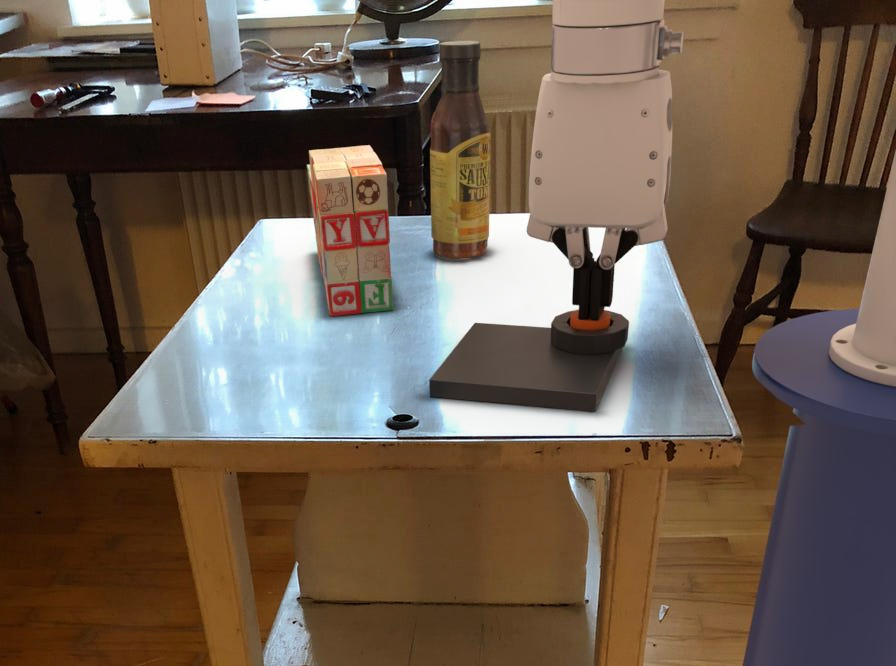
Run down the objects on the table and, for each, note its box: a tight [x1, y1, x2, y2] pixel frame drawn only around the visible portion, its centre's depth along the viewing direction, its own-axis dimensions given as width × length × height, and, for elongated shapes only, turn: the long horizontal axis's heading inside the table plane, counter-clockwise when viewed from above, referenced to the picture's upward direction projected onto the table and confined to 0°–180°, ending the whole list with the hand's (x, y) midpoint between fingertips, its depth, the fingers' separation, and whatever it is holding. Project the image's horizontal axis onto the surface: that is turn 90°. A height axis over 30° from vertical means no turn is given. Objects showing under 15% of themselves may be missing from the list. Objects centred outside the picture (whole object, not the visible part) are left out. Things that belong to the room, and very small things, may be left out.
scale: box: [428, 309, 630, 412], centre depth 79 cm, size 14×14×3 cm
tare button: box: [570, 308, 610, 330], centre depth 79 cm, size 3×3×2 cm
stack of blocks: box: [306, 144, 394, 317], centre depth 97 cm, size 21×6×12 cm, turn 8°
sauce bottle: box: [429, 40, 491, 261], centre depth 101 cm, size 6×6×20 cm
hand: (591, 314), depth 79 cm, fingers closed
